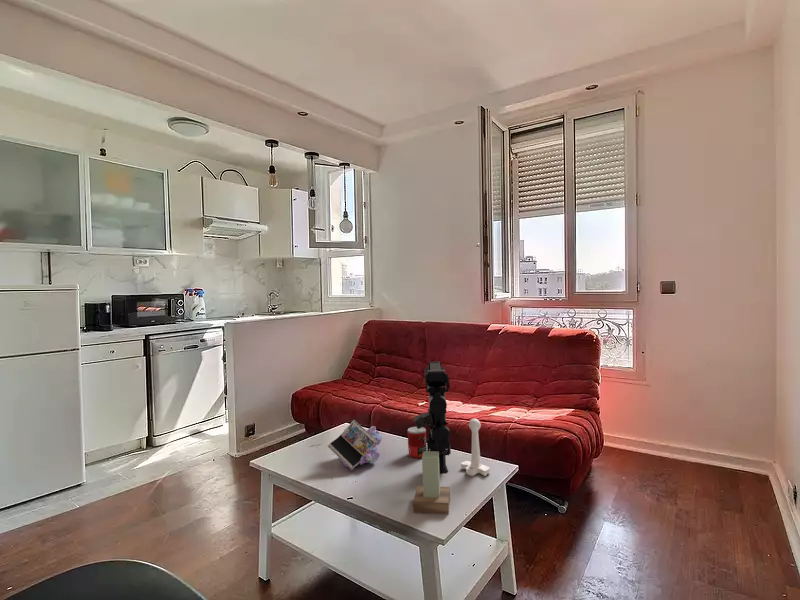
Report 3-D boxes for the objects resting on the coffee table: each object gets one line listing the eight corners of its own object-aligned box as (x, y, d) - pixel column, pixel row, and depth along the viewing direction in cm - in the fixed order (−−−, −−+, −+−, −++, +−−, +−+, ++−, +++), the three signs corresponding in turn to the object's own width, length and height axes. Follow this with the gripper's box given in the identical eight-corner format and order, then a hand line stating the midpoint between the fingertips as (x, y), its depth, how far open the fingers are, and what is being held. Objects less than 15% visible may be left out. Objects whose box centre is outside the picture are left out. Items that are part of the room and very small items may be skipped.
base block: (417, 495, 145) (417, 485, 145) (450, 497, 143) (449, 486, 143) (413, 512, 134) (412, 501, 134) (448, 514, 132) (448, 503, 132)
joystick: (492, 472, 161) (490, 420, 160) (481, 479, 155) (479, 425, 155) (467, 465, 168) (465, 415, 168) (456, 471, 163) (454, 419, 162)
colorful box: (380, 437, 191) (358, 406, 188) (397, 451, 170) (373, 416, 167) (343, 468, 184) (320, 436, 181) (356, 487, 164) (330, 451, 161)
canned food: (421, 459, 175) (419, 433, 175) (404, 456, 180) (403, 430, 180) (430, 453, 182) (429, 428, 181) (414, 450, 186) (413, 425, 186)
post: (425, 490, 141) (423, 451, 141) (440, 490, 140) (438, 451, 140) (423, 497, 136) (422, 457, 136) (439, 497, 136) (437, 457, 135)
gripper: (413, 400, 160) (414, 441, 160) (416, 414, 141) (417, 461, 142) (442, 399, 160) (444, 440, 161) (449, 413, 142) (451, 459, 142)
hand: (438, 449), depth 151 cm, fingers open, 9 cm apart
